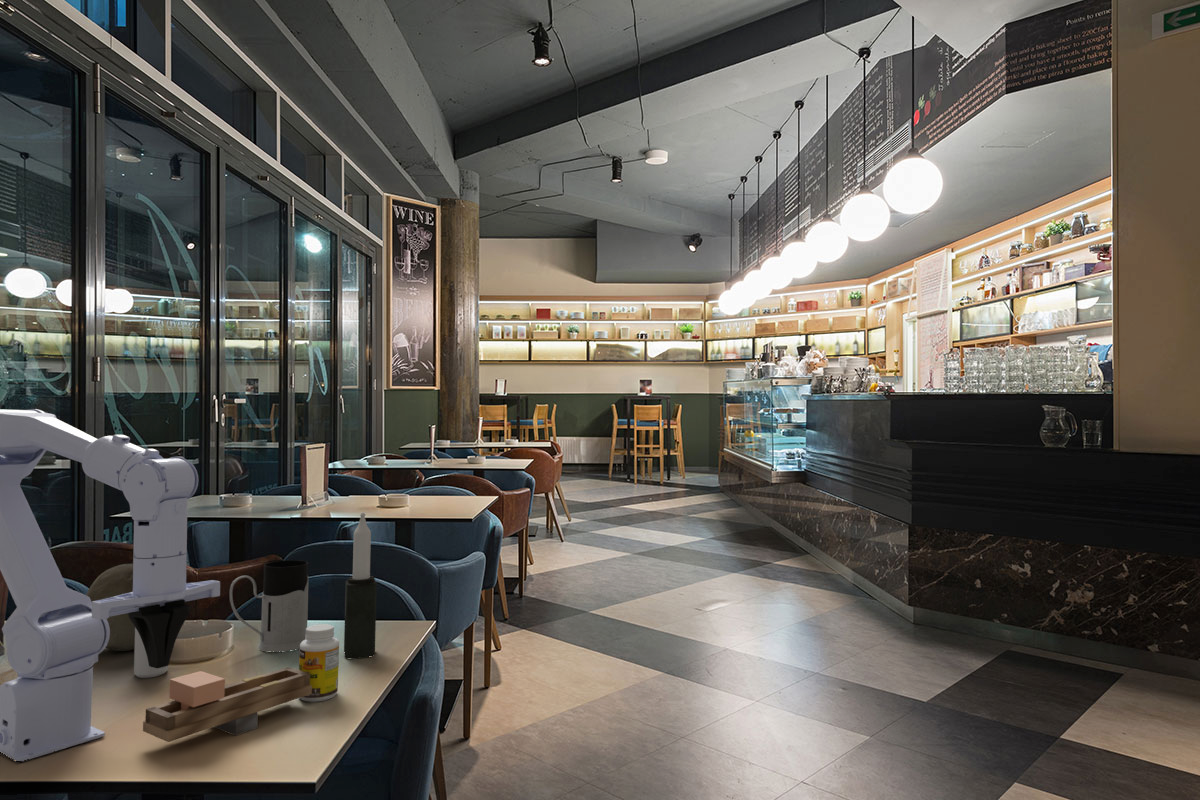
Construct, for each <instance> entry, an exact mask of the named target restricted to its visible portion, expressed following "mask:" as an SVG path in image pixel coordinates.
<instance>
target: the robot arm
mask: <svg viewBox="0 0 1200 800" xmlns="http://www.w3.org/2000/svg"><path fill="white" fill-rule="evenodd" d="M130 440H131V437H130V436H127V435H125V434H113V435H107V436H106V435H105V436H102V437H100V438H96V437H94V436H92V435H90V434H88V433H86V432H85V431H82V430H80V429H78V428H77V427H74V426H73V425H70V424H69V423H66V422H64V421H62V420H60V419H58V418H57V415H56V414H53V413H50V412H49V413H48V412H46V411H43V410H41V409H37V408H35V409H34V408H30V409H4V408H3V409H1V408H0V572H1V575H2V577H3V579H4V582H5V584H6V586H7V589H8V591H9V593H10V595H11V597H12V600H13V601H14V604H15V606H16V608H15V609H14V611H13V612H12V613H11V615H10V616H9V617H8V618H7V620H6V621H5V623H4V624H3V625H2V628H1V631H2V634H3V635H4V638H5V642H6V658H7V661H8V663H9V665H10V667H11V668H12V670H13V671H14V672H15V673H17V678H15V679H12V680H9V681H5V682H3V683H1V684H0V752H2V753H4V754H5V755H7V756H9V757H10V759H11V758H12V759H14V760H16V761H22V762H25V761H24V760H26V761H28V760H27V759H29V760H31V759H35V758H38V757H41V756H44V755H47V754H51V753H55V752H58V751H61V750H63V749H64V750H65V749H67V748H71V747H73V746H77V745H79V744H83V743H84V744H85V743H87V742H90V741H92V740H96V739H99V738H102V737H104V736H105V734H106V732H105V731H103V730H101V729H99V728H96V727H95V726H92V705H93V701H92V700H93V679H94V664H95V663H98V662H99V655H100V654H101V653H102V652H103V651H104V650H105V649H106V648H105V647H106V646H107V644H108V641H109V637H110V628H109V624H108V621H107V618H109V617H110V616H115V615H120V614H125V613H128V615H129V618H130V620H131V621H132V623H133V624H134V626H135V627H136V629H137V631H138V633H139V635H140V637H141V639H142V642H143V645H144V648H145V651H146V654H147V658H148V663H149V666H150V667H153V668H162V667H165V666H168V667H169V665H170V661H171V656H172V652H173V649H174V646H175V644H176V641H177V638H178V637H179V633H180V631H181V629H182V627H183V625H184V623H185V622H186V620H187V619H188V618H189V615H190V614H191V605H189V604H185V603H186V602H190V601H196V600H200V599H205V598H215V597H220V596H221V581H219V580H215V579H214V580H213V579H211V580H204V581H198V582H197V581H196V582H187V557H188V556H187V552H188V550H187V549H188V548H187V547H188V545H187V544H188V541H187V540H188V500H189V499H191V498H192V497H193V496H194V495H195V493H196V492H197V490H198V486H199V474H198V470H197V469H196V467H195V465H194V464H193V463H192V462H190V461H189V460H187V459H186V458H185V457H183V456H171V457H169V458H164V457H163V456H162V455H160V451H159V450H157V449H154V448H143V447H141V446H139V445H136V444H134V443H131V442H130ZM47 452H51V453H54V454H56V455H59V456H61V457H65V458H67V459H70V460H73V461H76V462H79V463H81V467H82V470H83V472H84V474H85V475H86V476H87V477H89V478H91V479H93V480H95V481H99V482H101V483H102V484H105V485H108V486H110V487H112V488H114V489H117V490H119V491H121V492H122V493H123V495H124V497H125V500H126V501H127V502H128V504H129V516H131V519H132V520H133V557H132V559H133V561H132V564H133V592H130V593H126V594H122V595H118V596H114V597H111V598H107V599H102V600H97V601H92V602H91V600H90V598H89V597H88V596H86V594H84V593H82V592H78V591H76V590H73V588H70V587H68V586H67V585H66V583H65V580H64V577H63V576H62V574H61V571H60V569H59V567H58V565H57V563H56V560H55V559H54V557H53V554H52V552H51V550H50V547H49V545H48V543H47V541H46V539H45V537H44V534H43V533H42V529H40V527H39V523H38V522H37V519H36V517H35V514H34V513H33V511H32V508H31V507H30V505H29V501H28V500H27V498H26V496H25V494H24V492H23V491H24V490H23V489H22V487H21V483H22V480H23V479H24V478H26V477H28V476H29V475H31V474H32V472H33V470H34V469H35V467H36V466H37V465H38V463H39V462H40V461H41V458H42V457H43V456H44V454H45V453H47ZM153 602H155V603H153ZM148 603H150V604H148ZM54 751H55V752H54ZM2 753H1V754H2ZM4 754H3V755H4ZM5 755H4V756H5ZM7 756H6V757H7ZM9 757H8V758H9ZM12 759H11V760H12ZM14 760H13V761H14ZM16 761H15V762H16Z"/></svg>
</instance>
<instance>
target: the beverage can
mask: <svg viewBox="0 0 1200 800" xmlns="http://www.w3.org/2000/svg"><path fill="white" fill-rule="evenodd" d="M153 603H155V602H153ZM148 604H150V603H148ZM133 653H134V655H133V657H134V658H133V659H134V661H133V673H134V675H135V676H136V678H137V677H138V678H142V679H150V678H155V677H159V676H161V675H164V674H165V673H166V672H167V671H168V669H169V665H168V666H165V667H162V668H153V667H150V666H149V663H148V658H147V654H146V651H145V648H144V645H143V642H142V639H141V637H140V635H139V633H138V631H137V629H136V627H135V649H134V652H133Z"/></svg>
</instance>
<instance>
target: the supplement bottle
mask: <svg viewBox="0 0 1200 800" xmlns="http://www.w3.org/2000/svg"><path fill="white" fill-rule="evenodd" d="M334 631H335V627H334V625H333V624H332V625H331V624H327V623H326V624H325V623H324V624H323V623H322V624H320V623H319V624H314V625H310V626H307V628H306V635H305V636H306V638H305V640H304V641H302V642H301V644H300V649H299V655H298V656H299V659H298V660H299V661H298V670H300V671H304V672H307V673H310V685H312V694H310V695H307V696H304V697H301V698H299V699H300V700H302V701H304V702H309V703H310V702H312V703H316V702H323V701H327V700H330V699H332V698H334V697H335V696H336V695H338V694H337V693H338V691H339V688H338V687H339V660H340V659H339V658H340V657H339V656H340V641H339V639H338V638H336V637H335V632H334Z"/></svg>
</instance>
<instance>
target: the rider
mask: <svg viewBox="0 0 1200 800" xmlns="http://www.w3.org/2000/svg"><path fill="white" fill-rule="evenodd" d="M225 686H226V678H223V677H221V676H218V675H214V674H211V673H208V672H205V671H202V670H199V671H195V672H192V673H187V674H185V675H180V676H177V677H173V678H170V679H169V692H168V693H169V694H168V696H169V697H168V698H169V699H171V700H172V701H178V702H181V710H184V709H187V708H190V707H196V706H199V705H202V704H206V703H209V702H212V701H215V700H219V699H222V698H224V692H225Z"/></svg>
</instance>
